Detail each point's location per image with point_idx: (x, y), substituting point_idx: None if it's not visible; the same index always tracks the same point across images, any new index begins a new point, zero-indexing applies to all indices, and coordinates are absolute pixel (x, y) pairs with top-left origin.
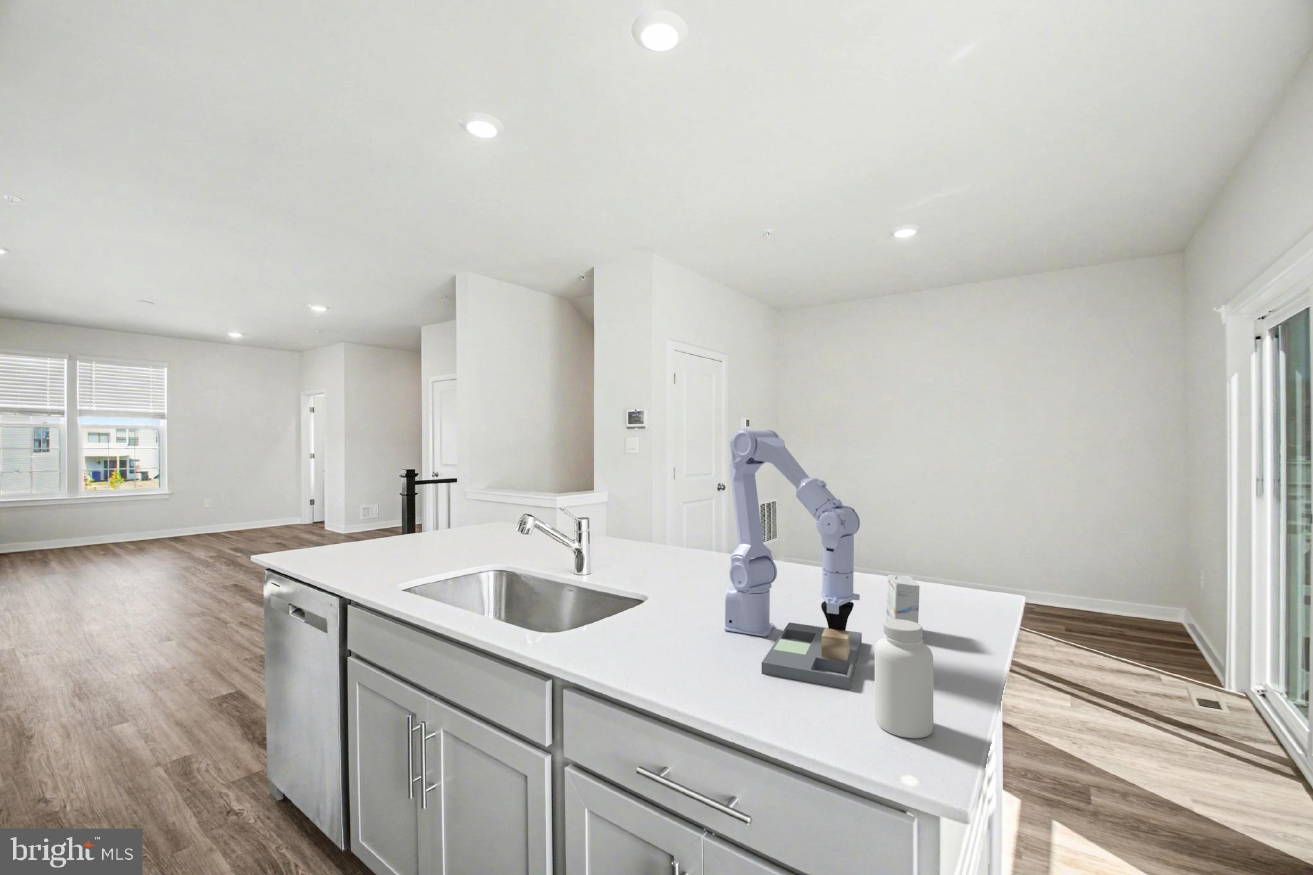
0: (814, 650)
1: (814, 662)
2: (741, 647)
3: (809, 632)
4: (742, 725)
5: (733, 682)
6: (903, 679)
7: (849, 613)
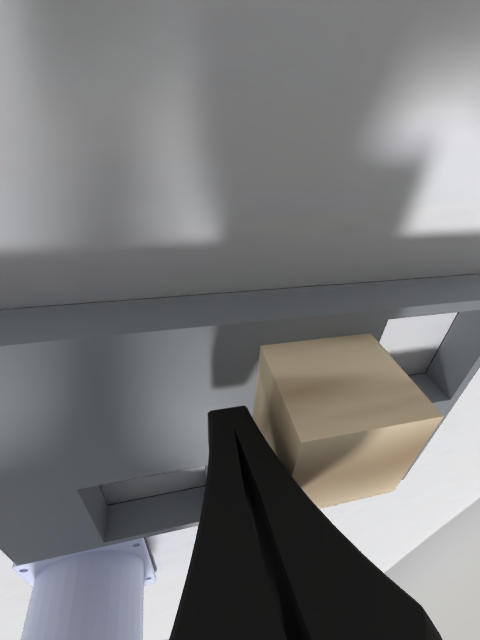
0: None
1: None
2: None
3: (84, 503)
4: None
5: (432, 464)
6: None
7: (421, 610)
